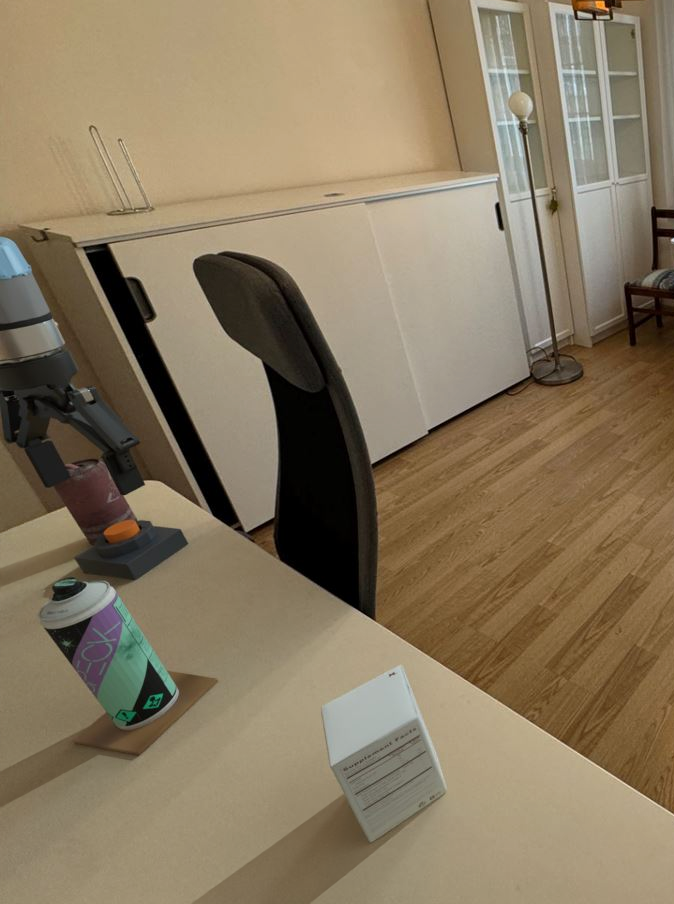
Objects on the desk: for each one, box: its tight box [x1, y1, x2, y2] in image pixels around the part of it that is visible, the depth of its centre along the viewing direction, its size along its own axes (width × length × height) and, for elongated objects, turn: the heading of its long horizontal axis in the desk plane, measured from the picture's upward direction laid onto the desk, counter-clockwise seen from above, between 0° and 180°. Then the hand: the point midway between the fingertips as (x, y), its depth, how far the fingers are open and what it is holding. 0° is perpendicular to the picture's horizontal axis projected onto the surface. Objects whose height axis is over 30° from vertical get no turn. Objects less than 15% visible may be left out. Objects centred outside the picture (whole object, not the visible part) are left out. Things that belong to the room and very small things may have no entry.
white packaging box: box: [320, 664, 448, 844], centre depth 55 cm, size 7×7×13 cm
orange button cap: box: [104, 520, 140, 543], centre depth 87 cm, size 4×4×2 cm
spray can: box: [37, 576, 179, 730], centre depth 62 cm, size 6×6×20 cm
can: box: [52, 458, 139, 546], centre depth 92 cm, size 6×6×14 cm
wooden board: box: [72, 669, 219, 756], centre depth 66 cm, size 9×9×1 cm
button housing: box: [73, 519, 189, 581], centre depth 89 cm, size 10×8×5 cm
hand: (95, 486), depth 83 cm, fingers open, 13 cm apart
